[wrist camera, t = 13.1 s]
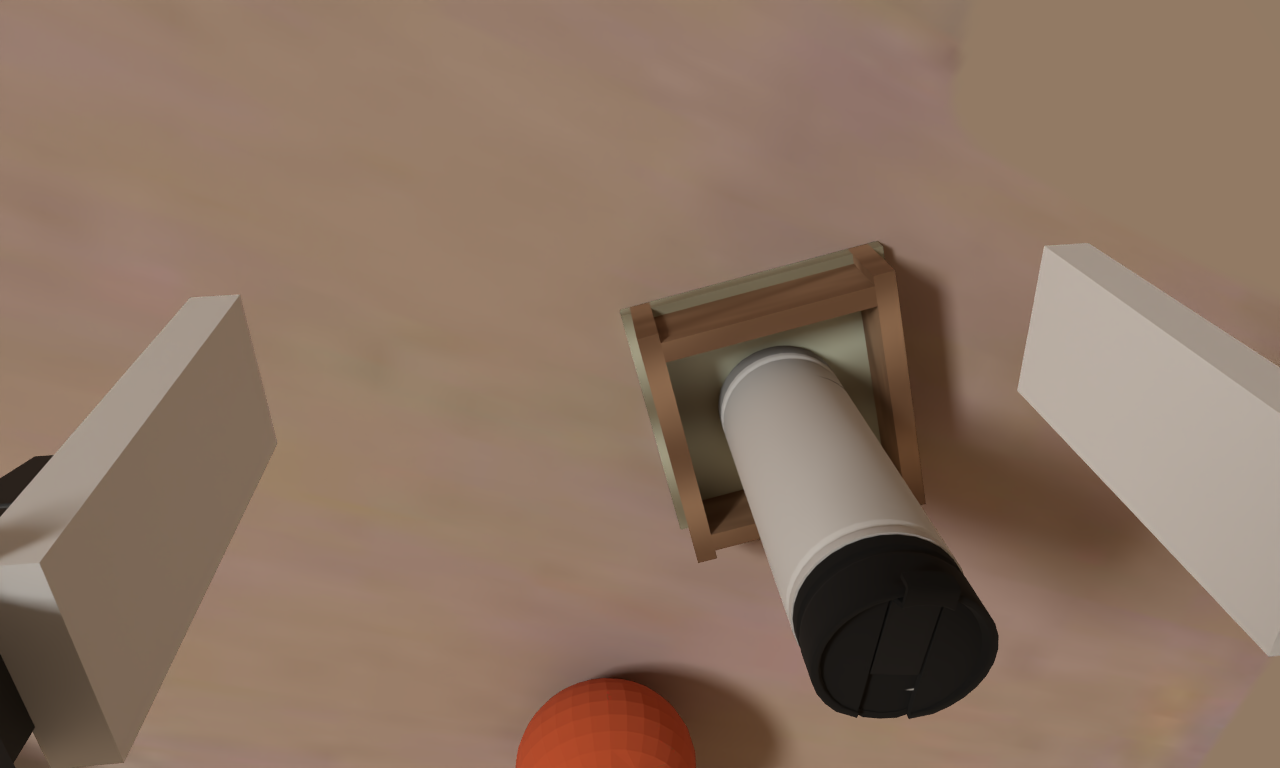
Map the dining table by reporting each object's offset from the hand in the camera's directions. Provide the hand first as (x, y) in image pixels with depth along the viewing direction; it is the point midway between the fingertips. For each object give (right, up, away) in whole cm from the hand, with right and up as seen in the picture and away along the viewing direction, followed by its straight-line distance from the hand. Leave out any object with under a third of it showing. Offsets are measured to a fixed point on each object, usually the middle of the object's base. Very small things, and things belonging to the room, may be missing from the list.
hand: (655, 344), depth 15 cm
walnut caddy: (+7, -1, +33) cm, 34 cm away
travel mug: (+7, -1, +32) cm, 33 cm away
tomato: (-3, -20, +41) cm, 46 cm away
